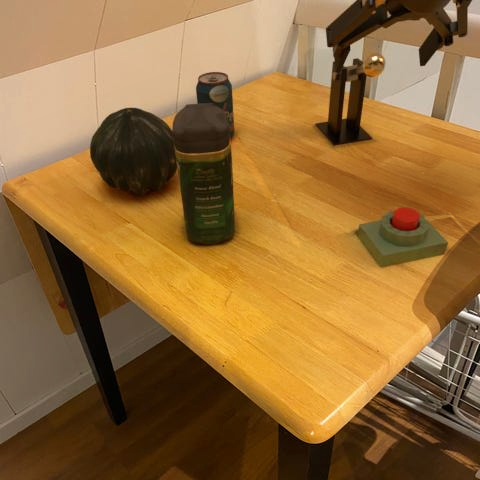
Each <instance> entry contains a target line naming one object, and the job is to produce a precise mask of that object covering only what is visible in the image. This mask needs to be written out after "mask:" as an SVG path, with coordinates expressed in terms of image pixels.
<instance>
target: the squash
mask: <svg viewBox="0 0 480 480" xmlns="http://www.w3.org/2000/svg"><path fill="white" fill-rule="evenodd" d="M89 155H90V156H89V157H90V160H91V162H92V165H93V167H94V168H95V169H96V171H97V172H98V173H99V175H100V178H101V180H102V181H103V182H104V183H105V184H106V185H107V186H109V188H111V189H112V188H113V189H118V190H119V191H122V192H129V191H132V193H133V194H135V195H137V196H140V197H141V196H144V195H146V194H147V192H148V191H150V192H158V191H160V190H161V189H162V188H163V187H164V185H165V184H166V183H167V182H169V181H170V180H171V179H173V177H174V176H175V175H176V173H177V171H178V169H177V162H176V154H175V147H174V138H173V134H172V128H171V127H170V125H168V123H167V122H165V120H163V119H162V118H161V117H159V116H157V115H155V114H154V113H152V112H149V111H147V110H144V109H141V108H139V107H124V108H122V109H119V110H117V111H114V112H111V113H109V114H108V115H107V116H106V117H105V118H104V119H103V120H102V122H101V123H100V125H99V127H98V128H96V130H95V132H94V134H93V135H92V137H91V139H90V146H89Z"/></svg>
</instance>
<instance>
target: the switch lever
mask: <svg viewBox="0 0 480 480" xmlns="http://www.w3.org/2000/svg"><path fill="white" fill-rule="evenodd" d="M362 62H363V65H362V66H360V67H357V65H353V64H352V65H353V66H352V65H347V66H345V67H346V68H347V75H346V83H351V81H354V80H358V74H361V73H365V74H366V75H367V76H368V78H377V77H379V76H380V75H382V73H383V72H384V71H385V68H386V58H385V57H384V56H383V54H381V53H379V52H372V53H370V54H368V55H367V56H366V57H365V58H364V60H363V61H362Z"/></svg>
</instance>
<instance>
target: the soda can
mask: <svg viewBox="0 0 480 480" xmlns="http://www.w3.org/2000/svg"><path fill="white" fill-rule="evenodd" d="M232 85H233V84H232V83H231V81H230V79H229V75H228V74H227V73H225V72H221V71H210V72H205V73H202V74H200V75H199V76H198V77H197V84H196V86H195V92H196V93H195V94H196V104H202V103H214V104H215V106H217V107H219V108H221V109H222V110H223V111H224V112H225V113H226V114H227V118H228V122H229V128H230V141H232V138H233V137H234V135H235V116H234V101H233V98H234V97H233V86H232Z"/></svg>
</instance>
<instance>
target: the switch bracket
mask: <svg viewBox="0 0 480 480" xmlns="http://www.w3.org/2000/svg"><path fill="white" fill-rule="evenodd" d="M363 62H364V61H362V60H361V59H360V58H359V57H357V58H353V59H352V65H351V66H353V65H357V67H360V66H362V65H363ZM346 75H347V68H346V66H345V65H343V67H342V70H341V72H338V73H336V72H335V61H334V60H333V61H332V68H331V77H330V78H331V80H330V90H329V103H328V116H327V121H322V122H317V123H316V122H315V126H316V128H317V129H318V130H319V131H320V132H321V133H322V135H323V136H324V137H325V138H326V139H327V140H328V142H330V143H331V145H332V146H333V147H335V146H343V145H348V144H354V143H360V142H365V141H371V140H373V137H372V136H371V135H370V134H369V133H368V132H367V131H366V130H365V129H364V128H363V127H362V126H361V122H362V114H363V108H364V100H365V91H366V86H367V85H366V84H367V75H366V74H365V73H361V74H358V80H354V81H351V82H349V83H350V84H349V93H348V104H347V109H346V111H347V112H346V118H343V115H344V113H343V112H344V104H345V103H344V102H345V95H346V84H347V82H346Z"/></svg>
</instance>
